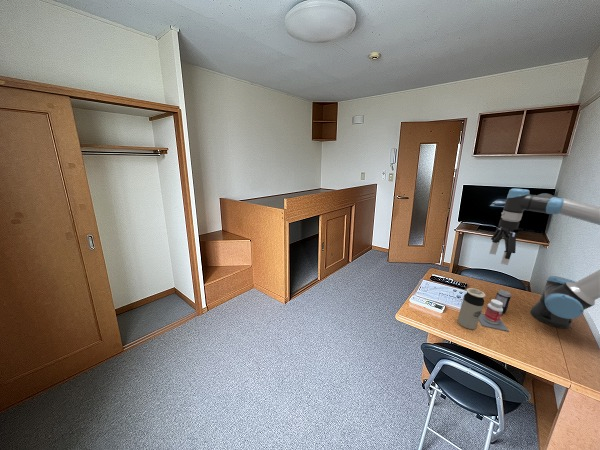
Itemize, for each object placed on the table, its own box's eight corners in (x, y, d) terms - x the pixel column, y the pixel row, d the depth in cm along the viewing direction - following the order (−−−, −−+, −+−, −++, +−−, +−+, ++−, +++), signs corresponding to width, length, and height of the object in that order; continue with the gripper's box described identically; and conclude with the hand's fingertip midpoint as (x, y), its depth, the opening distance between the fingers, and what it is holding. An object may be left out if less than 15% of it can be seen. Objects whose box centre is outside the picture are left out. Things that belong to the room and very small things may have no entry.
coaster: (498, 317, 126) (498, 316, 126) (508, 331, 116) (509, 330, 116) (474, 312, 129) (474, 311, 129) (482, 326, 119) (482, 325, 119)
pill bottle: (497, 326, 118) (503, 307, 115) (482, 320, 122) (488, 301, 119) (499, 321, 122) (506, 302, 119) (484, 315, 126) (490, 296, 123)
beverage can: (507, 315, 128) (514, 295, 125) (495, 313, 129) (501, 294, 126) (501, 309, 133) (507, 290, 130) (489, 307, 134) (495, 288, 131)
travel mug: (453, 318, 124) (462, 287, 119) (469, 319, 123) (479, 288, 118) (462, 329, 116) (472, 296, 111) (480, 330, 116) (490, 297, 111)
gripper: (490, 213, 134) (480, 249, 140) (513, 225, 111) (500, 267, 117) (506, 215, 132) (495, 251, 138) (533, 227, 109) (519, 270, 115)
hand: (497, 258), depth 127 cm, fingers open, 13 cm apart
